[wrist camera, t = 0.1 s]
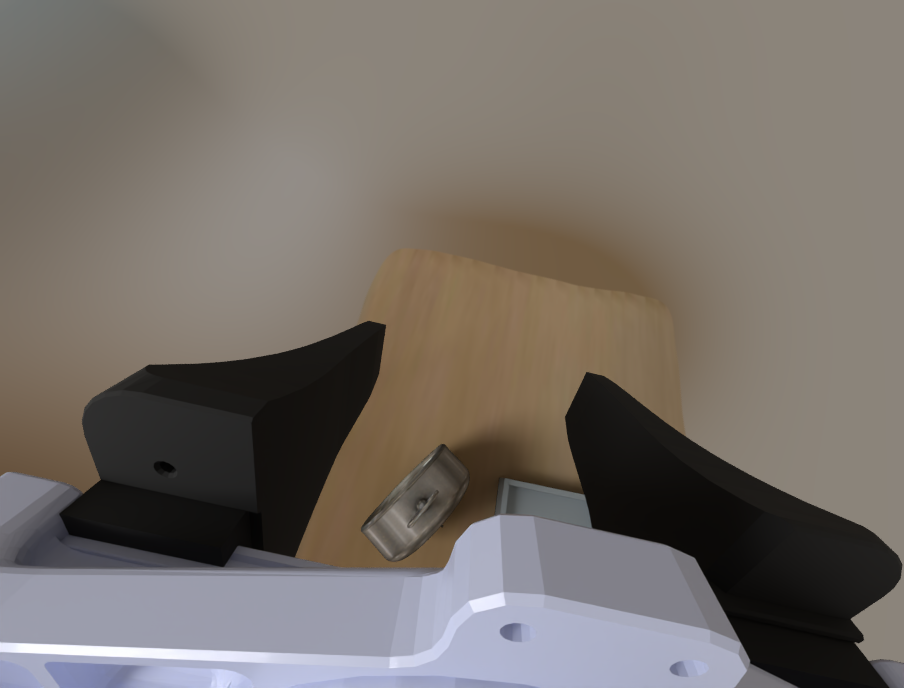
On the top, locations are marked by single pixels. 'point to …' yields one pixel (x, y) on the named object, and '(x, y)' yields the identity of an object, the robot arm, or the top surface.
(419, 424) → the top surface
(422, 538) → the alarm clock
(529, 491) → the tray
